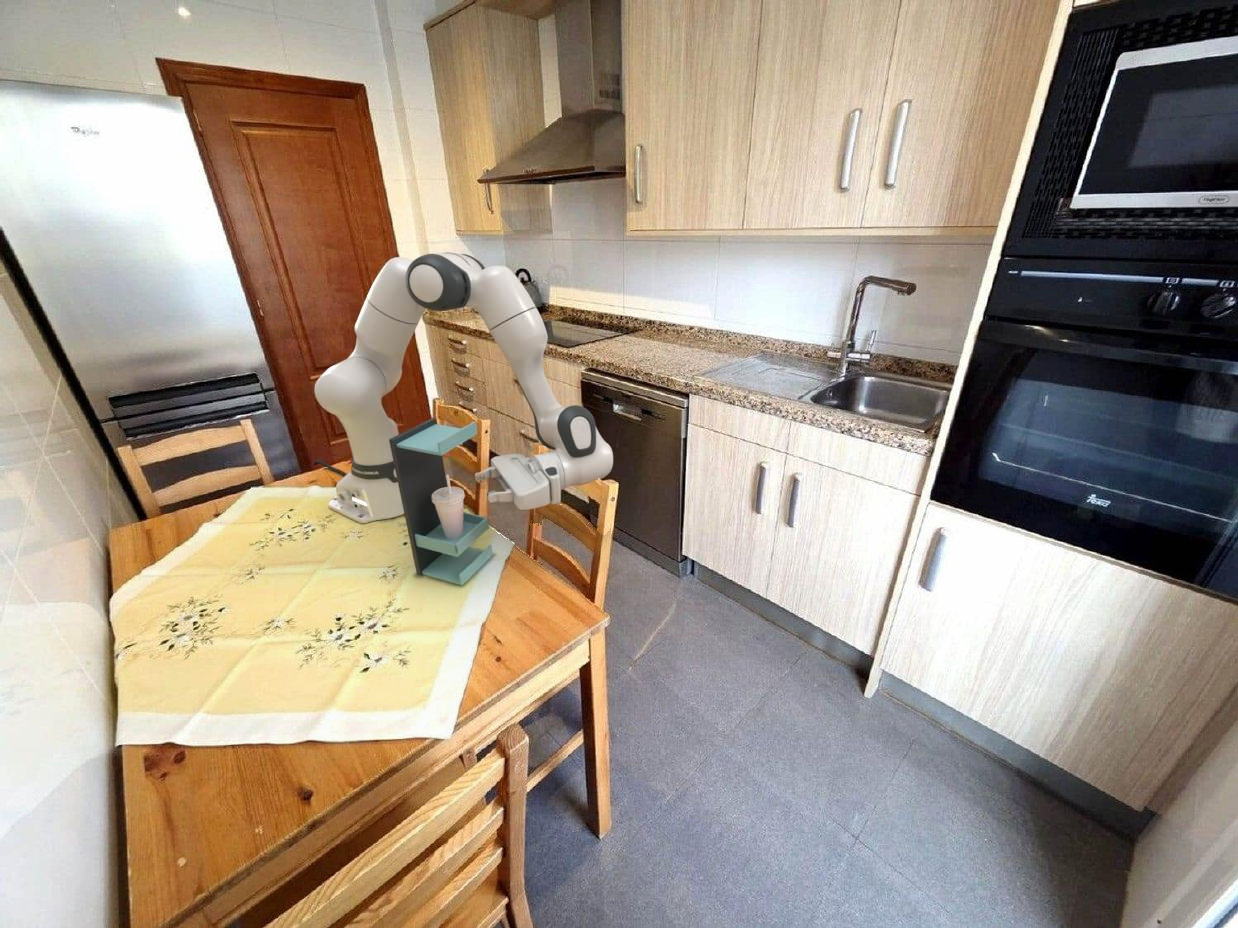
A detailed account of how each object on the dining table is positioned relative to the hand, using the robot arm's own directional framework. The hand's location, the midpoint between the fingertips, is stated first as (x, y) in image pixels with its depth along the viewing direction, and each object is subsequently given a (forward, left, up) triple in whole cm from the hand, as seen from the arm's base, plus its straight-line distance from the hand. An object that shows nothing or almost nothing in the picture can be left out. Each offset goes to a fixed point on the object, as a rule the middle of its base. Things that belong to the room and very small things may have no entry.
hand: (481, 487), depth 104 cm
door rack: (-6, -5, -17) cm, 19 cm away
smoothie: (-4, -5, -9) cm, 12 cm away
